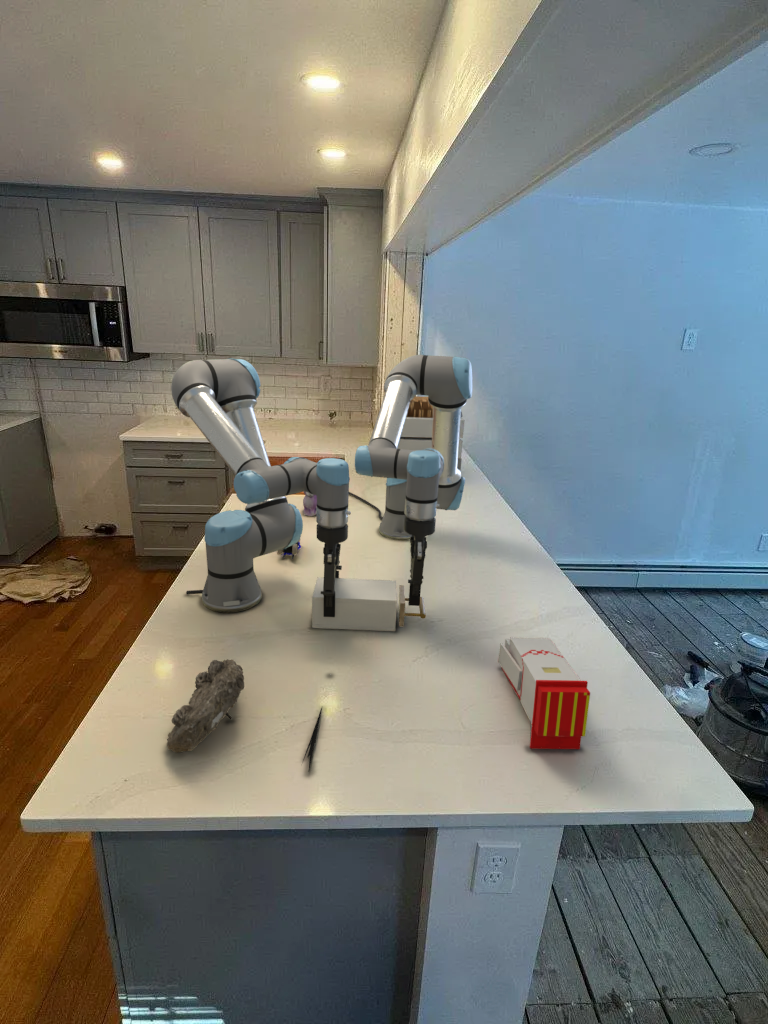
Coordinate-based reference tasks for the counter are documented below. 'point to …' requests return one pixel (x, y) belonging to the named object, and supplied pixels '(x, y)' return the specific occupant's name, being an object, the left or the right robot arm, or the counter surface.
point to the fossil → (206, 705)
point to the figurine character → (290, 550)
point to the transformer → (422, 427)
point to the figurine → (309, 504)
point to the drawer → (402, 607)
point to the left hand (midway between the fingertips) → (331, 604)
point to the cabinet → (357, 605)
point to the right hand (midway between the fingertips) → (414, 604)
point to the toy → (546, 691)
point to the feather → (313, 740)
